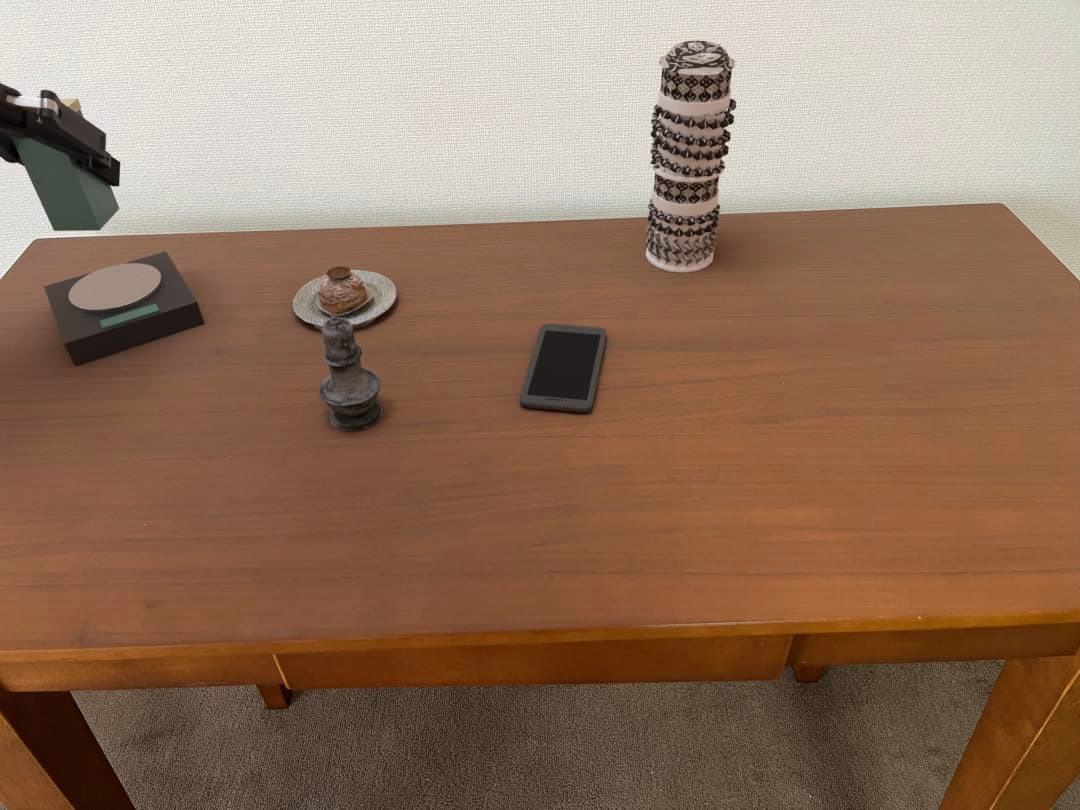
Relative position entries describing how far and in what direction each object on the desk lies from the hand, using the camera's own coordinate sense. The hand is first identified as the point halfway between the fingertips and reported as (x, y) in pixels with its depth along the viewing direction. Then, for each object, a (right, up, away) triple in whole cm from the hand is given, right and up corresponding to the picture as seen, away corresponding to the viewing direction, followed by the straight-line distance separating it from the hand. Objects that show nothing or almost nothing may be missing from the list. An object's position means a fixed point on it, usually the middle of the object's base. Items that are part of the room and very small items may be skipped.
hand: (90, 174), depth 89 cm
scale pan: (0, -12, +5) cm, 13 cm away
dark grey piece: (+31, -26, -8) cm, 41 cm away
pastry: (+26, -13, +7) cm, 30 cm away
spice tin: (0, -5, -1) cm, 5 cm away
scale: (+1, -15, +7) cm, 16 cm away
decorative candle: (+67, -6, +14) cm, 68 cm away
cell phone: (+52, -21, -4) cm, 56 cm away
